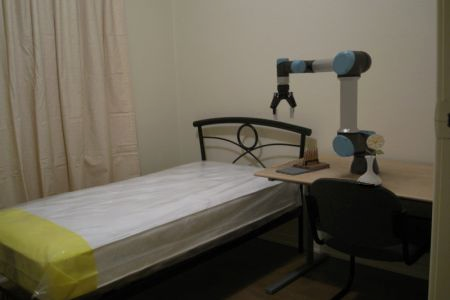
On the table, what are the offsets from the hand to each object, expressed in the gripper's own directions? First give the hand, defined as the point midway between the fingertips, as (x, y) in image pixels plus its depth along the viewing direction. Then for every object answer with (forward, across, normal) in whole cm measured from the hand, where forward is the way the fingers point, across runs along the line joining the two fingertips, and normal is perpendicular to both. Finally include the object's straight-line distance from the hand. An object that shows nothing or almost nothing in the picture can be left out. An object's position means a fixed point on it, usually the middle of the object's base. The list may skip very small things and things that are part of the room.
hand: (283, 119), depth 259 cm
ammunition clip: (+28, -1, +21) cm, 35 cm away
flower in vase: (+28, +8, +69) cm, 75 cm away
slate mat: (+28, +14, +21) cm, 38 cm away
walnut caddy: (+28, -1, +21) cm, 35 cm away
